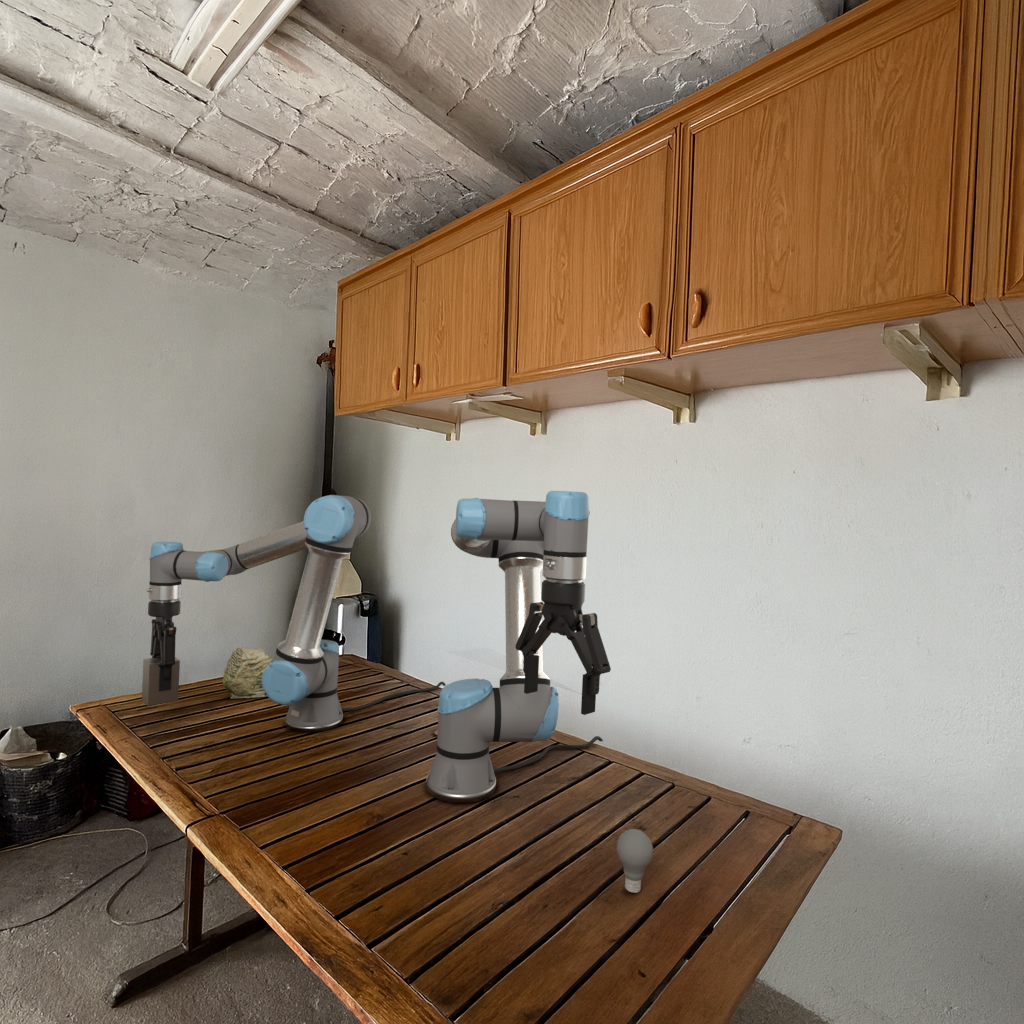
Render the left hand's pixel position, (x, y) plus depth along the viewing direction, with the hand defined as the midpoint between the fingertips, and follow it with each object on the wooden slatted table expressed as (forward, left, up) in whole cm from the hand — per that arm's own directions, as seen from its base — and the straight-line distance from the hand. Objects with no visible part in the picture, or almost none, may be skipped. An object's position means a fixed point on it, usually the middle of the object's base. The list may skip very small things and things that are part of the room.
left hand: (161, 686), depth 168 cm
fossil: (-32, -9, -11) cm, 34 cm away
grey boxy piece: (0, 0, -4) cm, 4 cm away
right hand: (-18, +114, +19) cm, 117 cm away
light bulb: (-22, +128, -11) cm, 130 cm away
